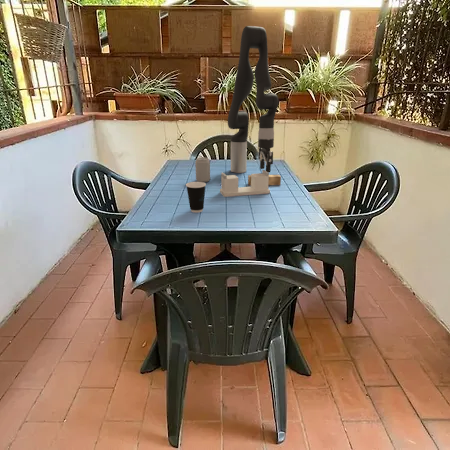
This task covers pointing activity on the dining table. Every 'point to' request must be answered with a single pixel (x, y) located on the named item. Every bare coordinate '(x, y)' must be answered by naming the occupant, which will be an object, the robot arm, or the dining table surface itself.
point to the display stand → (231, 187)
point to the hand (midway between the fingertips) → (265, 170)
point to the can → (202, 169)
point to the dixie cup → (196, 196)
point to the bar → (272, 180)
